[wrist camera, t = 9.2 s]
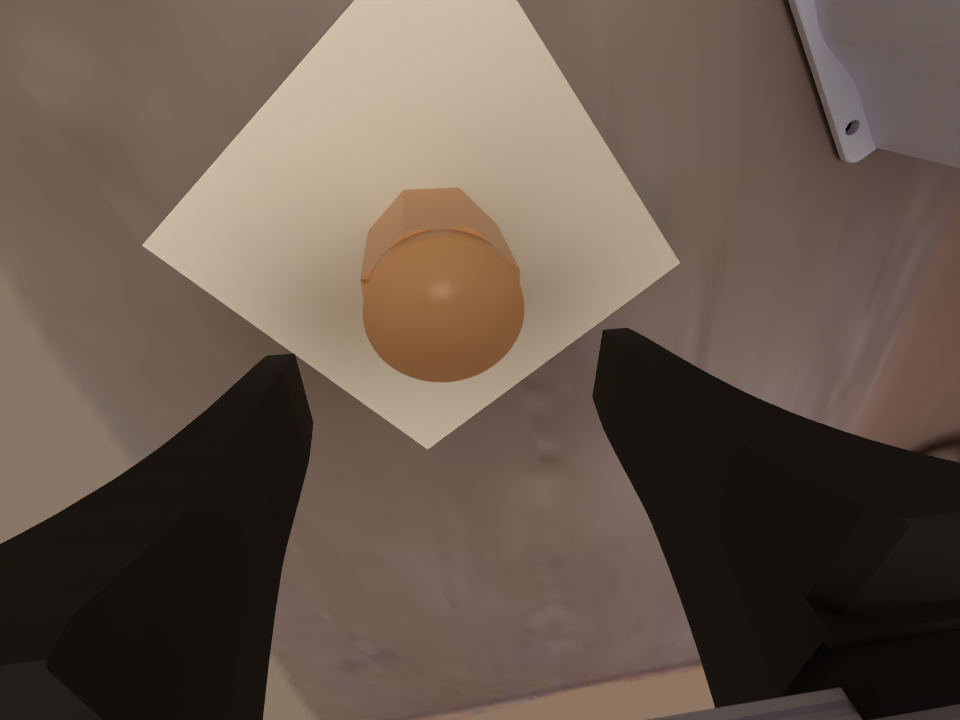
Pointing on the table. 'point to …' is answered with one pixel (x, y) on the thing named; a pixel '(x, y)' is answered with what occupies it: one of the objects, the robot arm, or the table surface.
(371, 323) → the cap
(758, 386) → the table surface
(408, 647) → the table surface
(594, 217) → the post board
